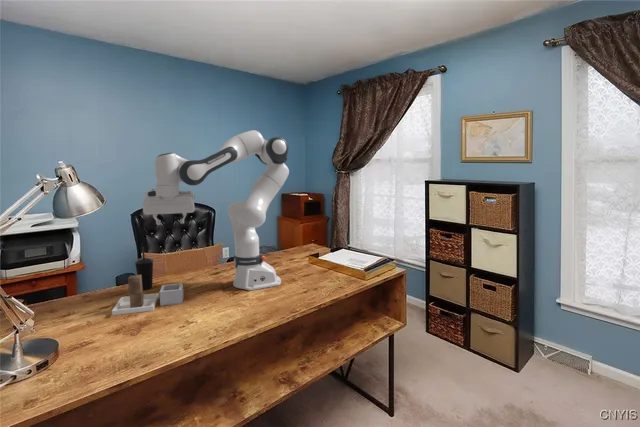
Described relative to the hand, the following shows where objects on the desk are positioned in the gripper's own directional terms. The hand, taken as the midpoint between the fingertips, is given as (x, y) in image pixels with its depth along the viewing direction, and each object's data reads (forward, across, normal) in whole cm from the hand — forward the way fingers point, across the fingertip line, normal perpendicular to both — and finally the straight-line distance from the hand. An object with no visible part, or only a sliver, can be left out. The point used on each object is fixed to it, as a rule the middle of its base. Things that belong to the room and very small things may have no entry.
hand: (170, 223), depth 147 cm
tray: (+31, +13, +12) cm, 36 cm away
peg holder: (+31, 0, +11) cm, 33 cm away
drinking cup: (+31, +13, -8) cm, 35 cm away
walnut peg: (+30, +13, +12) cm, 35 cm away
